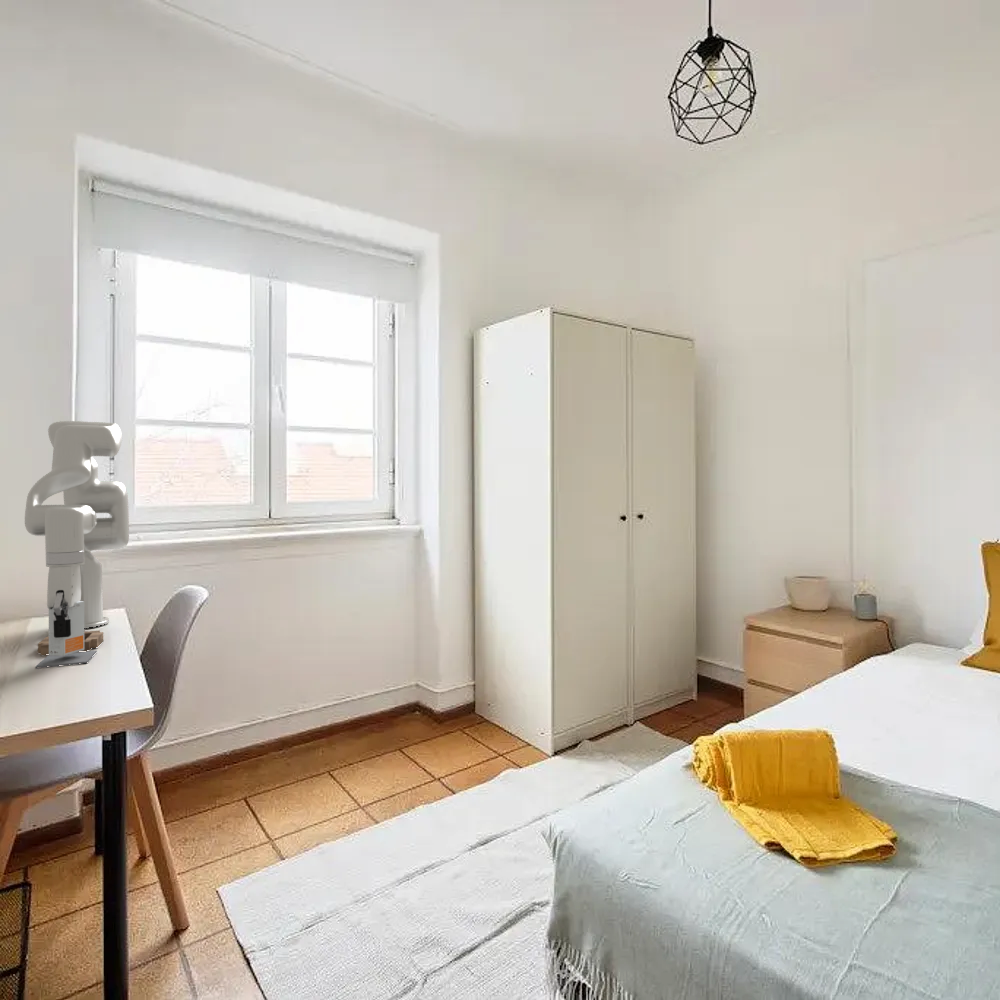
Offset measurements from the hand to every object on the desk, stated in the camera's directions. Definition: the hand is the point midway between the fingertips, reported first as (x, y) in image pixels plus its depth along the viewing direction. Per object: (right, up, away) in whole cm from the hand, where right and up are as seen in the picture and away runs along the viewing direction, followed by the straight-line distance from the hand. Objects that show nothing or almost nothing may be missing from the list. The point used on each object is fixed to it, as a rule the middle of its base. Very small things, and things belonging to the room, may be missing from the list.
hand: (67, 632), depth 147 cm
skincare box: (0, -5, 0) cm, 5 cm away
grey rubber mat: (0, -7, 0) cm, 7 cm away
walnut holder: (-7, -6, +11) cm, 15 cm away
